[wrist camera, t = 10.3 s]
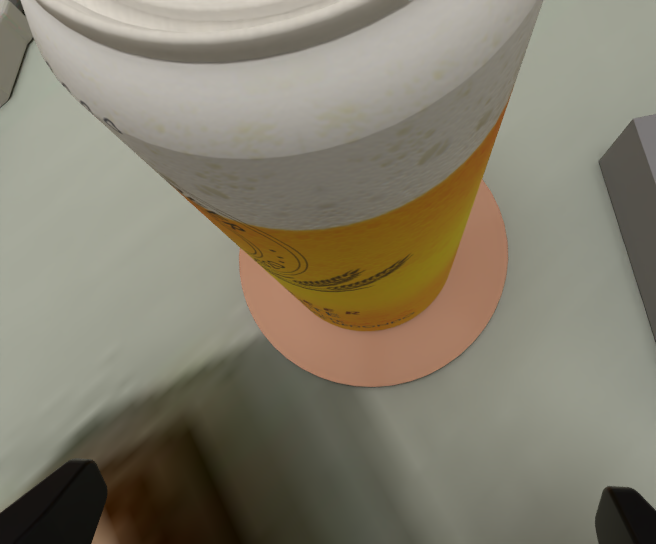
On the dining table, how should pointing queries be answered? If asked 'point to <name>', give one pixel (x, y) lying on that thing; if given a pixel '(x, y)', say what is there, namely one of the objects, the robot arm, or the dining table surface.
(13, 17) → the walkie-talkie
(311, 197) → the beer can
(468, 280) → the peach dome cap
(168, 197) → the dining table surface
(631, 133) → the ring
